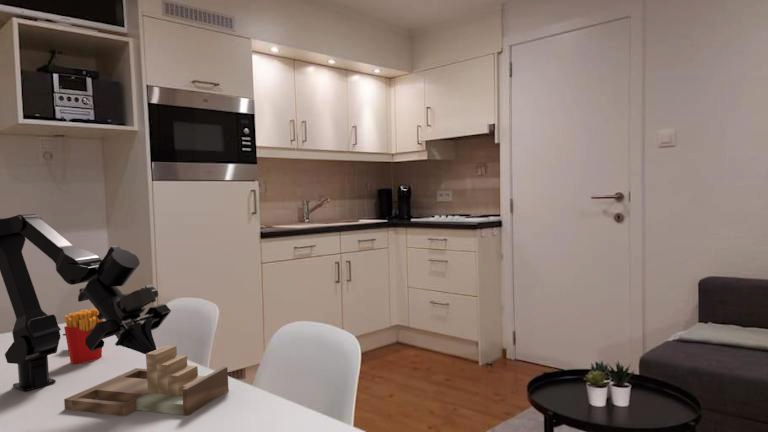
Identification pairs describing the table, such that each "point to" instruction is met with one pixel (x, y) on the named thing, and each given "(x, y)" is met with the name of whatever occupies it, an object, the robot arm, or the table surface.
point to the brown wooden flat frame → (147, 395)
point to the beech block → (169, 371)
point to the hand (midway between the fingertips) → (155, 355)
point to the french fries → (81, 335)
